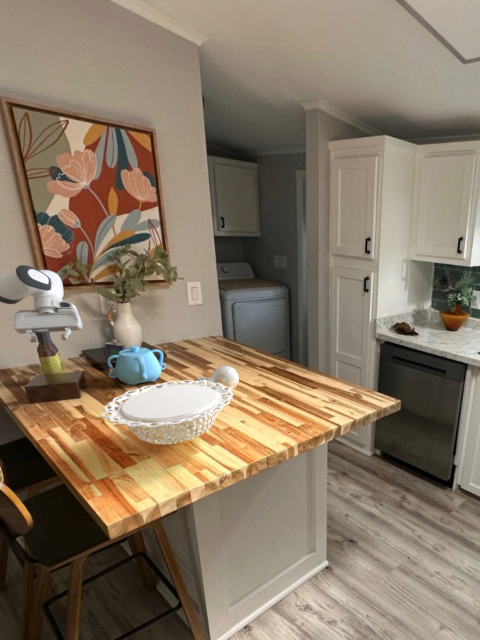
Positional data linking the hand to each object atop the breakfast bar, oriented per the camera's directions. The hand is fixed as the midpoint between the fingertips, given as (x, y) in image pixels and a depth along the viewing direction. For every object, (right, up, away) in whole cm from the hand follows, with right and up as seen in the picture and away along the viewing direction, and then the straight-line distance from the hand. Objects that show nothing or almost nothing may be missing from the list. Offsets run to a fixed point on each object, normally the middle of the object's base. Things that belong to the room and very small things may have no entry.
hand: (49, 340), depth 151 cm
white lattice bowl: (+67, -33, -36) cm, 83 cm away
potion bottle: (+64, -19, -1) cm, 67 cm away
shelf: (+11, -20, -9) cm, 24 cm away
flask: (+10, -7, +24) cm, 27 cm away
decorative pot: (+30, -15, +7) cm, 34 cm away
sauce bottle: (+1, -16, +2) cm, 16 cm away
